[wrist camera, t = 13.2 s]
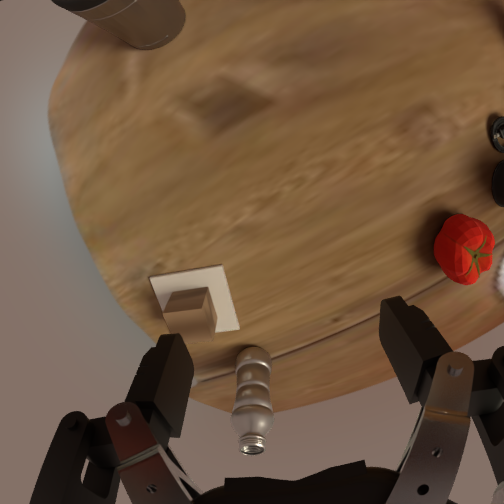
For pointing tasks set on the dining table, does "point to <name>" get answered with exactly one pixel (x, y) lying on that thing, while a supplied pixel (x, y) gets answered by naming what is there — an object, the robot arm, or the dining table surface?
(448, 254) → the tomato
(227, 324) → the plate
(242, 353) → the plastic bottle
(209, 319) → the cube
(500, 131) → the milk frother
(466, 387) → the robot arm
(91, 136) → the dining table surface
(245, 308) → the dining table surface
